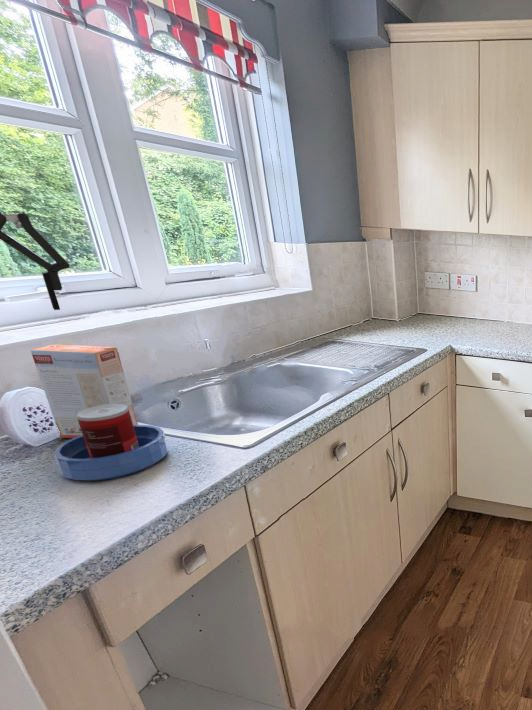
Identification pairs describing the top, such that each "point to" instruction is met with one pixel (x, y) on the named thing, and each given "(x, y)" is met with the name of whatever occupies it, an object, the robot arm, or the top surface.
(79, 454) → the bowl
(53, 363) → the cracker box
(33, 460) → the top surface
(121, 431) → the canned food
